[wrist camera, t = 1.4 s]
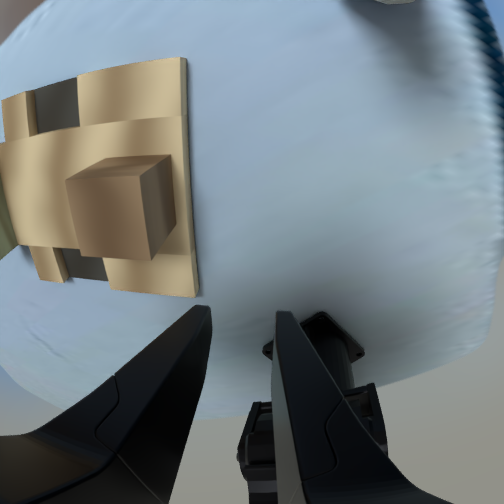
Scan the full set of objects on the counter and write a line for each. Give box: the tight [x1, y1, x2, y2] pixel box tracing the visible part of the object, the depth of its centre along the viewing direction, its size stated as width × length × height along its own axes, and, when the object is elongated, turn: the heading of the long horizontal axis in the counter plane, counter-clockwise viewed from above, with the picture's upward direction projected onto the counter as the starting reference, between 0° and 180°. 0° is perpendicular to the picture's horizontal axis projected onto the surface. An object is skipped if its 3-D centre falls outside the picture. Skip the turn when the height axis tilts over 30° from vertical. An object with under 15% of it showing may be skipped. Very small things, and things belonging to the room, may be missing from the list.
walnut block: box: [65, 154, 177, 261], centre depth 17 cm, size 4×4×4 cm
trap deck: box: [0, 57, 199, 298], centre depth 18 cm, size 18×16×4 cm
